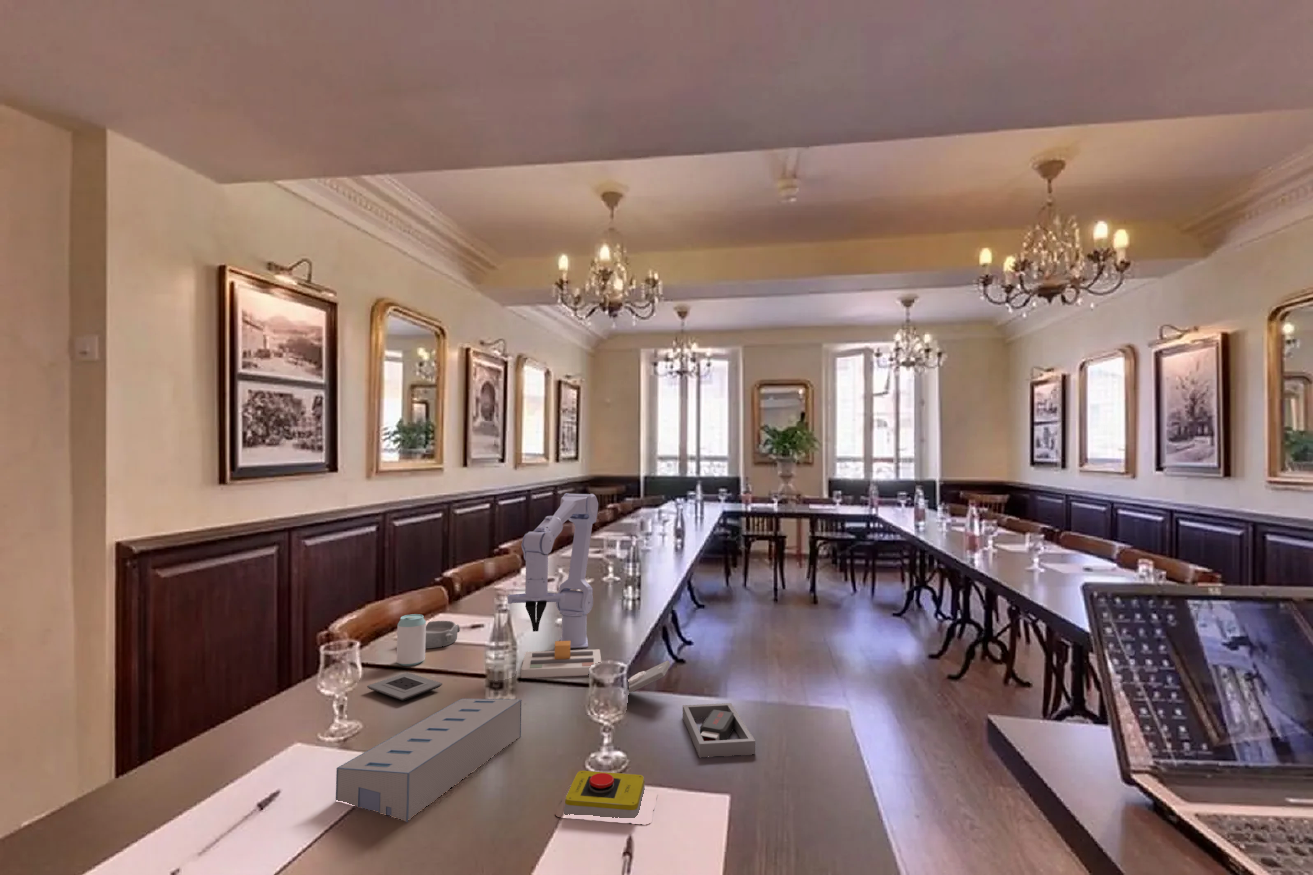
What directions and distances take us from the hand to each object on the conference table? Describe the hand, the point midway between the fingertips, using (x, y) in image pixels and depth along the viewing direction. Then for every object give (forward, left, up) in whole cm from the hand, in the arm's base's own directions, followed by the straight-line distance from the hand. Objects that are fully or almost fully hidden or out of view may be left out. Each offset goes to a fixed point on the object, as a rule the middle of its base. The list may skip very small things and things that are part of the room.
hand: (535, 630), depth 158 cm
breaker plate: (0, +7, -10) cm, 12 cm away
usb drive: (+43, +38, -10) cm, 58 cm away
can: (-8, -33, -10) cm, 35 cm away
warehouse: (+49, -14, -10) cm, 52 cm away
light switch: (+23, +25, -10) cm, 35 cm away
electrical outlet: (+13, -29, -10) cm, 33 cm away
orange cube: (0, +7, -7) cm, 10 cm away
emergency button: (+64, +15, -10) cm, 67 cm away
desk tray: (+43, +38, -10) cm, 58 cm away
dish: (-25, -31, -10) cm, 41 cm away
